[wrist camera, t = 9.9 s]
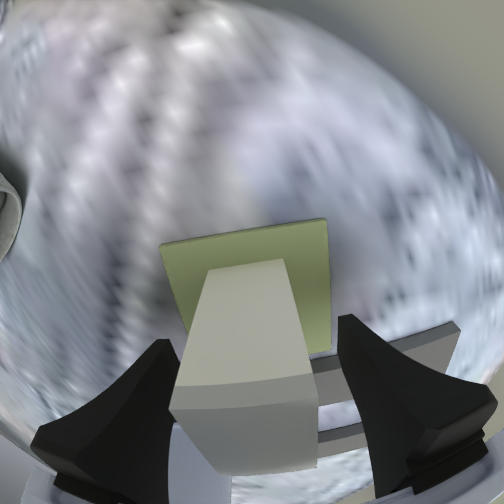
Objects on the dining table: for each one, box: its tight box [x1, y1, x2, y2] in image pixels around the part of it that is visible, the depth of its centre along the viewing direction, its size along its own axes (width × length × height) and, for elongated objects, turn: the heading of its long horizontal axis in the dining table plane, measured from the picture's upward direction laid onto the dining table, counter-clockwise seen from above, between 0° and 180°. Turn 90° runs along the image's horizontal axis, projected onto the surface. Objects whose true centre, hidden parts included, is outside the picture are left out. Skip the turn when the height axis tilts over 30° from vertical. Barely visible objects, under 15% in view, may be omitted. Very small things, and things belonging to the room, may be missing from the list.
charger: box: [169, 258, 318, 476], centre depth 10 cm, size 4×5×8 cm
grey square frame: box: [310, 322, 461, 458], centre depth 17 cm, size 14×14×2 cm
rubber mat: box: [159, 218, 331, 354], centre depth 14 cm, size 8×8×1 cm
